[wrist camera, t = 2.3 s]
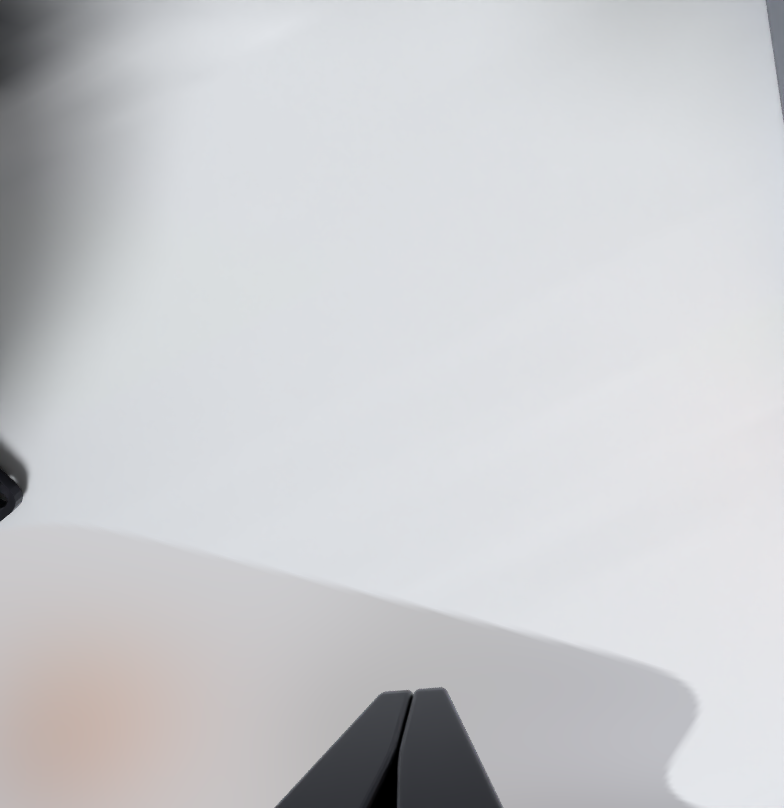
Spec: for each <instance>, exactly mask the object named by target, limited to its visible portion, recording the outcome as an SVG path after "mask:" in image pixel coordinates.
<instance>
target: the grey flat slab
mask: <svg viewBox="0 0 784 808" xmlns="http://www.w3.org/2000/svg"><path fill="white" fill-rule="evenodd" d="M766 4H767V11H768V18H769V25H770V31H771V38H772V45H773V52H774V59H775V66H776V73H777V79H778V86H779V93H780V100H781V107H782V114H783V120H784V0H766Z"/></svg>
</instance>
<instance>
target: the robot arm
mask: <svg viewBox="0 0 784 808" xmlns="http://www.w3.org/2000/svg"><path fill="white" fill-rule="evenodd" d="M0 493H2V494H3V495H5V497H6V498H7V501H4V500H2V499H1V498H0V521H2V520H3V519H4V518H5V517H6V516H8V515H9V514H10V513H11V512H12V511H14V510H15V509H16V508H17V507H18V506H19V505H20V503H21V502H22V499H23V494H22V491H21V489H20V488H19V486H18V485H17V484H16V483H15V482H14V481H13V480H12V479H11V478H10V477H9V476H8V475H7V474H6V473H5V472H4V471H3V470H2V469H1V468H0ZM275 808H503V806H502V804H501V802H500V800H499V798H498V796H497V794H496V792H495V790H494V787H493V786H492V784H491V781H490V779H489V777H488V775H487V773H486V771H485V769H484V767H483V765H482V763H481V761H480V758H479V756H478V754H477V752H476V750H475V748H474V746H473V744H472V742H471V740H470V738H469V736H468V733H467V731H466V729H465V727H464V725H463V723H462V721H461V719H460V717H459V715H458V713H457V711H456V709H455V706H454V704H453V702H452V700H451V698H450V696H449V694H448V692H447V690H446V689H444V688H442V687H441V688H440V687H439V688H428V689H418V690H416V691H415V692H414V694H413V693H412V692H411V691H409V690H402V691H388V692H383V693H381V694H380V695H379V696H378V697H377V698H376V699H375V700H374V701H373V702H372V703H371V704H370V705H369V707H368V708H367V709H366V710H365V711H364V712H363V713H362V714H361V715H360V716H359V717H358V718H357V719H356V720H355V722H354V723H353V724H352V725H351V726H350V727H349V728H348V729H347V730H346V731H345V732H344V734H342V736H341V737H340V738H339V739H338V740H337V741H336V742H335V743H334V744H333V745H332V746H331V747H330V748H329V750H328V751H327V752H326V753H325V754H324V755H323V756H322V757H321V758H320V759H319V760H318V761H317V763H316V764H315V765H314V766H313V767H312V768H311V769H310V770H309V771H308V773H306V774H305V776H304V777H303V778H302V779H301V780H300V781H299V782H298V783H297V784H296V785H295V786H294V787H293V788H292V789H291V791H290V792H289V793H288V794H287V795H286V796H285V797H284V798H283V799H282V800H281V801H280V802H279V804H278V805H277V806H276V807H275Z"/></svg>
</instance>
